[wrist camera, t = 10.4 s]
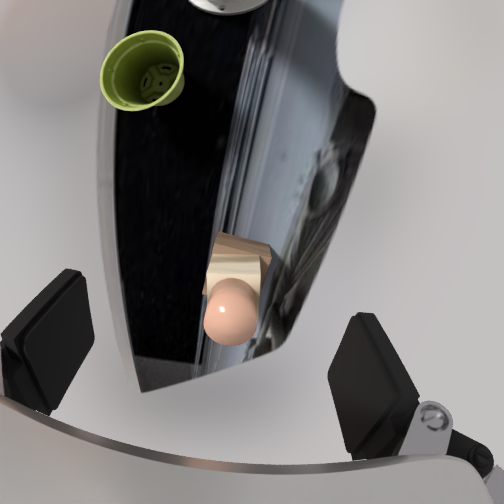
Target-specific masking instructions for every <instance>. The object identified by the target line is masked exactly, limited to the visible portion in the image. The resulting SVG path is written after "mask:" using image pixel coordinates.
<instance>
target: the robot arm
mask: <svg viewBox="0 0 504 504" xmlns="http://www.w3.org/2000/svg"><path fill="white" fill-rule="evenodd" d="M188 1H189V2H190V3H191V4H192V5H193V6H195V7H196V8H198V9H199V10H202V11H204V12H206V13H210V14H214V15H237V14H243V13H246V12H250V11H252V10H255V9H257V8H259V7H260V6H262V5H263V4H265V3H266V2H267V1H268V0H188ZM221 10H223V11H221ZM1 337H2V341H1V342H0V504H504V470H503V469H501V468H500V467H499V466H498V465H496V466H494V460H493V455H492V454H491V452H490V450H489V449H488V448H487V447H486V446H484V445H483V444H481V443H479V442H477V441H475V440H473V439H471V438H469V437H467V436H465V435H463V434H461V433H459V432H457V431H455V430H454V429H452V427H453V419H452V416H451V414H450V412H449V411H448V410H447V409H446V408H445V407H444V406H443V405H441V404H440V403H437V402H434V401H425V402H422V403H421V404H420V403H419V401H418V398H419V397H420V395H419V394H418V392H417V389H416V387H415V386H414V384H413V382H412V380H411V378H410V376H409V374H408V372H407V371H406V369H405V367H404V365H403V363H402V361H401V360H400V358H399V356H398V354H397V352H396V351H395V349H394V347H393V345H392V343H391V342H390V340H389V338H388V336H387V335H386V333H385V331H384V330H383V328H382V326H381V324H380V323H379V321H378V320H377V318H376V316H375V315H374V314H373V313H363V312H358V313H357V314H356V315H355V316H352V317H351V319H350V321H349V324H348V326H347V329H346V331H345V334H344V336H343V338H342V341H341V343H340V345H339V348H338V350H337V352H336V354H335V357H334V359H333V361H332V363H331V366H330V368H329V371H328V381H329V385H330V389H331V393H332V396H333V400H334V404H335V408H336V411H337V415H338V419H339V423H340V427H341V431H342V435H343V438H344V443H345V447H346V450H347V452H348V453H351V456H352V460H353V461H351V462H339V463H327V464H308V465H266V464H265V465H264V464H245V463H233V462H222V461H213V460H205V459H198V458H191V457H185V456H179V455H174V454H169V453H163V452H158V451H154V450H150V449H145V448H141V447H137V446H133V445H129V444H125V443H122V442H118V441H115V440H112V439H108V438H105V437H102V436H99V435H95V434H93V433H90V432H87V431H84V430H81V429H78V428H76V427H73V426H70V425H68V424H65V423H63V422H60V421H58V420H55V419H53V418H51V417H48V416H50V414H51V412H52V410H56V409H57V408H58V406H59V404H60V402H61V400H62V398H63V396H64V394H65V393H66V391H67V389H68V387H69V386H70V384H71V382H72V380H73V378H74V376H75V375H76V373H77V371H78V369H79V368H80V366H81V364H82V363H83V361H84V359H85V357H86V356H87V354H88V352H89V351H90V349H91V347H92V346H93V343H94V337H95V336H94V330H93V325H92V319H91V313H90V307H89V300H88V292H87V284H86V278H85V277H84V276H82V273H81V272H80V271H77V270H72V269H65V270H63V271H62V272H61V273H60V274H59V275H58V276H57V277H56V278H55V279H54V280H53V281H52V282H51V283H49V284H48V285H47V286H46V287H45V288H44V289H43V290H42V291H41V292H40V293H39V294H38V295H37V296H36V297H35V298H34V299H33V300H32V301H31V302H30V303H29V304H28V305H27V306H26V307H25V308H24V309H23V310H22V312H20V314H19V315H17V317H16V318H15V319H14V320H13V321H12V322H11V323H10V324H9V325H8V326H7V327H6V329H5V330H4V331H3V332H2V333H1ZM36 410H37V411H38V412H37V411H36ZM39 412H41V413H43V414H41V413H39ZM44 414H45V415H44ZM46 415H47V416H46ZM361 459H367V460H361ZM354 460H361V461H354ZM493 466H494V467H493Z"/></svg>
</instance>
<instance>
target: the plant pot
mask: <svg viewBox="0 0 504 504" xmlns="http://www.w3.org/2000/svg"><path fill="white" fill-rule="evenodd" d="M164 66H166V67H170V68H171V70H168V69H162V67H164ZM183 67H184V57H183V52H182V49H181V47H180V45H179V44H178V42H177V41H176V40H175V39H174V38H173V37H172V36H170V35H168V34H166V33H164V32H160V31H142V32H138V33H135V34H132V35H130V36H128V37H126V38H125V39H123V40H121V41H120V42H119V43H118V44H117V45H115V46H114V47H113V49H112V50H111V51H110V52H109V54H108V55H107V57H106V58H105V60H104V62H103V65H102V68H101V72H100V86H101V90H102V92H103V95H104V96H105V98H106V99H107V101H108V102H109V103H110V104H112V105H113V106H115V107H117V108H119V109H122V110H126V111H139V110H144V109H147V108H150V107H152V106H162V105H166V104H168V103H170V102H172V101H173V100H175V99H176V98H177V97H178V96H179V95H180V93H181V92H182V90H183V87H184V75H183ZM146 78H148V79H147V81H146V84H145V87H144V86H143V84H144V80H145V79H146ZM160 82H162V83H163V84H162V85H161V86H160V85H159V83H160ZM152 99H156V101H155V102H154V101H152Z"/></svg>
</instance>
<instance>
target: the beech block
mask: <svg viewBox="0 0 504 504" xmlns="http://www.w3.org/2000/svg"><path fill="white" fill-rule="evenodd" d="M226 278H237V279H241V280H243V281H245V282H246V283H248V284H249V285H250V286H251V287H252V289H253V291H254V294H255V304H256V320H258V314H259V297H260V279H261V272H260V258H259V255H236V254H213V255H212V258H211V261H210V264H209V267H208V270H207V302H208V300H209V296H210V292H211V289H212V288H213V286H214V285H215V284H216V283H217V282H219V281H221V280H223V279H226Z"/></svg>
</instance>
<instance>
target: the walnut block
mask: <svg viewBox="0 0 504 504" xmlns="http://www.w3.org/2000/svg"><path fill="white" fill-rule="evenodd" d="M213 254H236V255H259V258H260V272H261V279H260V292H261V289H262V286H263V283H264V280H265V277H266V274H267V271H268V268H269V265H270V262H271V259H272V257H271V252H270V247H269V245H268V244H264V243H260V242H257V241H253V240H249V239H245V238H242V237H238V236H234V235H230V234H226V233H222V232H219V231H218V234H217V237H216V240H215V243H214V247H213V251H212V255H213ZM212 255H211V258H212ZM210 261H211V259H210ZM209 264H210V263H209ZM202 294H205V295H207V276H206V280H205V284H204V288H203V293H202Z"/></svg>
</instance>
